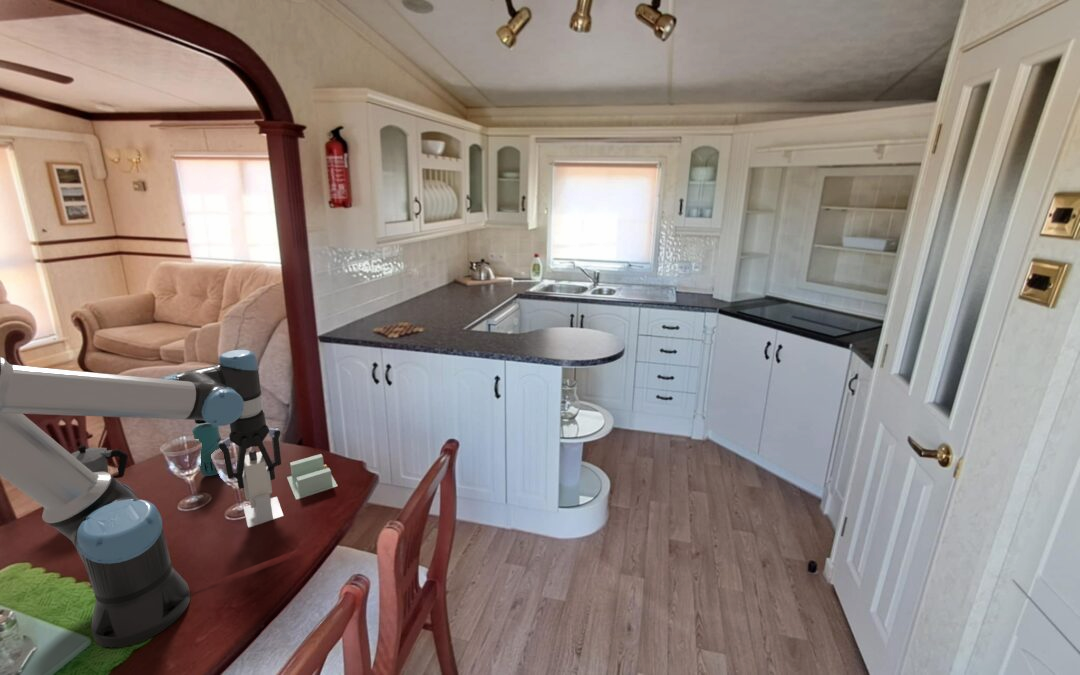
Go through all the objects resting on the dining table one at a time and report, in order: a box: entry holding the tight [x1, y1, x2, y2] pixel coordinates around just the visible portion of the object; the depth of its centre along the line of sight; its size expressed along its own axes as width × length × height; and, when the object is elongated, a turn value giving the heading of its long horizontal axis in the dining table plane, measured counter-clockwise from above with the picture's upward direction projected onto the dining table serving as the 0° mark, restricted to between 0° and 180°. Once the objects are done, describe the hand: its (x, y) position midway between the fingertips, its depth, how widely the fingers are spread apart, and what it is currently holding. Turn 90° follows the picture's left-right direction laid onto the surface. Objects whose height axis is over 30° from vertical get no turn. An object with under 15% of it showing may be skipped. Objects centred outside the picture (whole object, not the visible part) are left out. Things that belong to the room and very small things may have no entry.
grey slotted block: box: [243, 493, 284, 529], centre depth 124 cm, size 10×8×8 cm
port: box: [286, 453, 338, 501], centre depth 137 cm, size 13×11×6 cm
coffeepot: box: [70, 444, 129, 479], centre depth 124 cm, size 15×9×18 cm, turn 110°
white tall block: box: [243, 449, 271, 508], centre depth 121 cm, size 6×4×14 cm
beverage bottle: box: [191, 420, 222, 477], centre depth 139 cm, size 6×7×20 cm
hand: (258, 493), depth 123 cm, fingers closed on white tall block, 4 cm apart
